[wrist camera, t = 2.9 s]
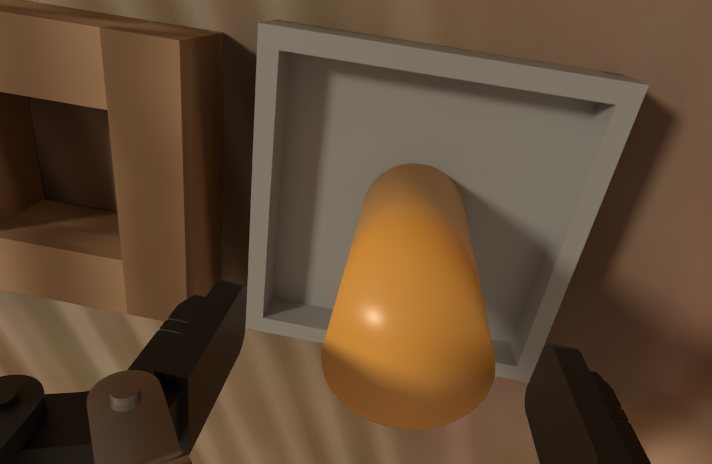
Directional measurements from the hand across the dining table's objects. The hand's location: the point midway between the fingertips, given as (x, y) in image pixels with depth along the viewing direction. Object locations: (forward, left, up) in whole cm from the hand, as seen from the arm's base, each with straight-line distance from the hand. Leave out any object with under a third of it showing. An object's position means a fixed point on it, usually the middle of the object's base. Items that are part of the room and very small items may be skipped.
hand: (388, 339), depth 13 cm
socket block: (+14, 0, -10) cm, 18 cm away
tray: (-1, 0, -10) cm, 10 cm away
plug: (-1, 0, -9) cm, 9 cm away
